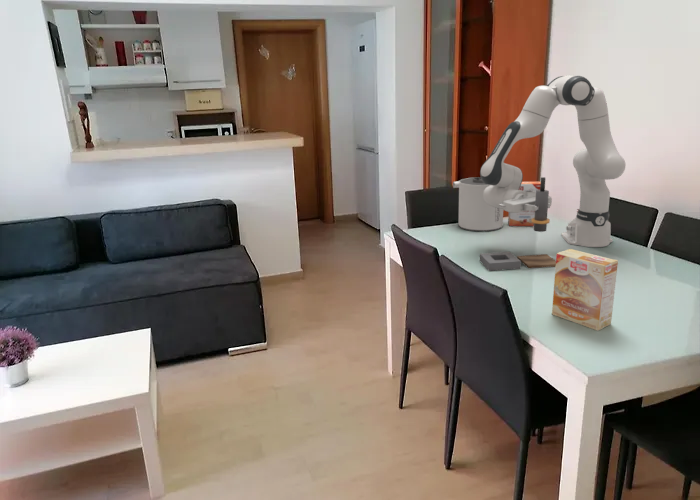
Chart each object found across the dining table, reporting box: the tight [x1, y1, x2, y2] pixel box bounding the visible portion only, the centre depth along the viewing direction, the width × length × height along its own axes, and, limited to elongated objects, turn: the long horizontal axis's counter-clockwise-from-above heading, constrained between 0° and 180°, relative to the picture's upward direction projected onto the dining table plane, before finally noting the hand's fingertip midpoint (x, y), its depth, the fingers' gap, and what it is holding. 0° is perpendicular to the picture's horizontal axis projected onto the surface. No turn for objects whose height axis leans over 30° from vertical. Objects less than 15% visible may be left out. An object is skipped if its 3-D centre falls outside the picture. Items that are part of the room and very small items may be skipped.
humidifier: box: [452, 176, 504, 232], centre depth 254 cm, size 22×21×23 cm
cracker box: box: [507, 181, 541, 227], centre depth 253 cm, size 14×6×21 cm, turn 81°
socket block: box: [479, 251, 522, 272], centre depth 203 cm, size 12×12×3 cm
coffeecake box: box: [551, 248, 619, 332], centre depth 152 cm, size 15×7×20 cm, turn 35°
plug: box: [532, 176, 551, 233], centre depth 197 cm, size 6×6×20 cm
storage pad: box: [516, 253, 556, 269], centre depth 204 cm, size 12×12×1 cm
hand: (543, 207), depth 197 cm, fingers closed on plug, 4 cm apart
